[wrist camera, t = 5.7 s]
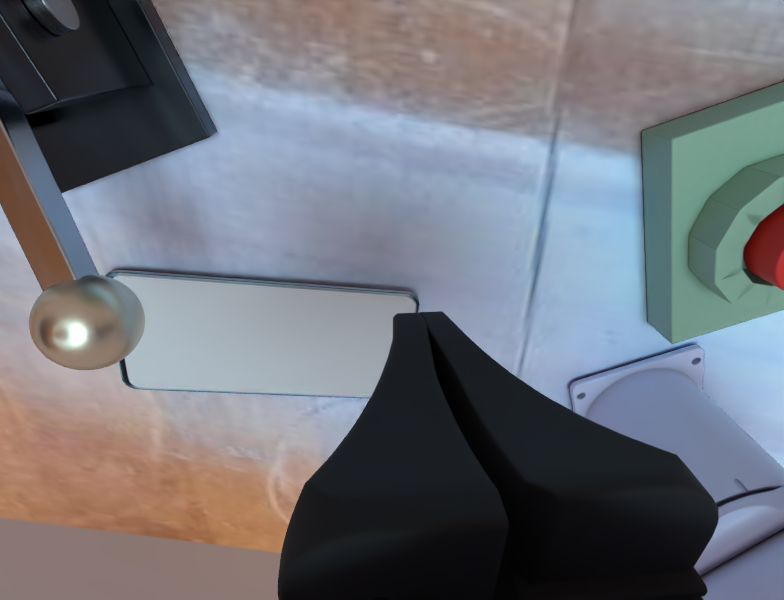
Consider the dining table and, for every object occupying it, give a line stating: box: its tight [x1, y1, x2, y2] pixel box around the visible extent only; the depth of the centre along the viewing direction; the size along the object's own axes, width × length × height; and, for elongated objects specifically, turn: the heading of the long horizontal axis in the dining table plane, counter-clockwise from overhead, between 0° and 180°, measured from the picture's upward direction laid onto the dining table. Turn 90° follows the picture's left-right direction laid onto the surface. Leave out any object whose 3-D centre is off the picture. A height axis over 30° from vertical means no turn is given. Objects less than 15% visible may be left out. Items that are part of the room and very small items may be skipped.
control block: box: [642, 82, 784, 344], centre depth 21 cm, size 11×8×4 cm
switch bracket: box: [0, 0, 217, 193], centre depth 13 cm, size 9×7×7 cm
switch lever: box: [0, 79, 145, 370], centre depth 12 cm, size 11×3×3 cm, turn 18°
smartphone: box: [106, 270, 419, 399], centre depth 23 cm, size 7×1×15 cm
